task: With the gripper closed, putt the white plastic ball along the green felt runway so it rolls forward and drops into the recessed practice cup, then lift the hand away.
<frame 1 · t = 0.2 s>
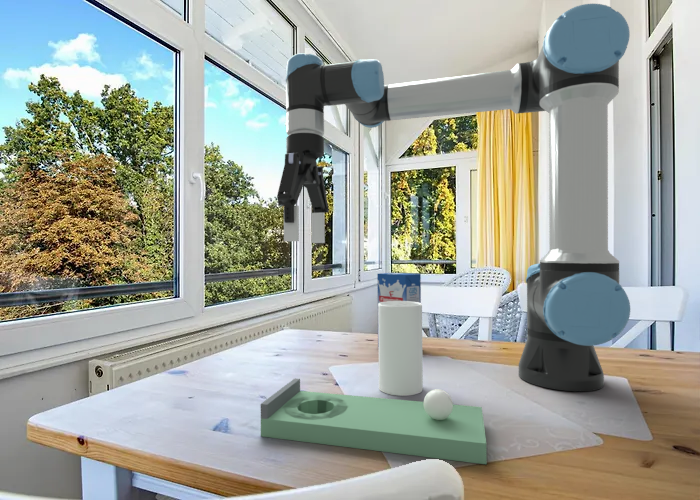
hand: (305, 242, 81), 28 cm above the table, fingers open, 13 cm apart
ball: (438, 404, 56), point 4 cm above the table, touching green
milk carton: (399, 349, 109), on the table
cup: (400, 389, 77), on the table
green: (374, 429, 59), on the table
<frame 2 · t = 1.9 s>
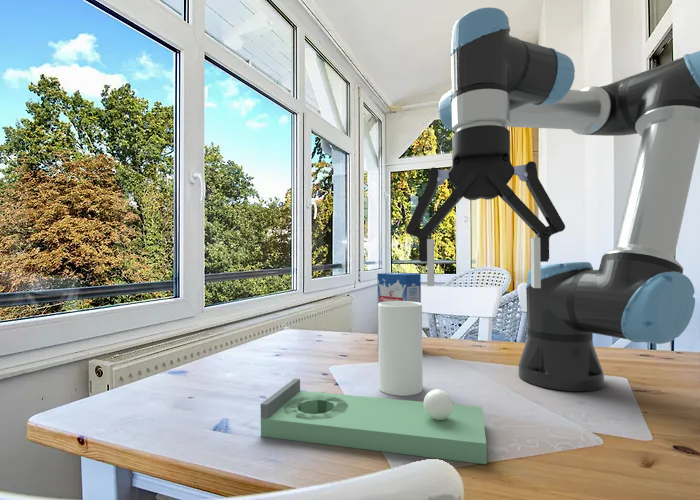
hand: (481, 286, 55), 21 cm above the table, fingers open, 13 cm apart
nothing on the table moved.
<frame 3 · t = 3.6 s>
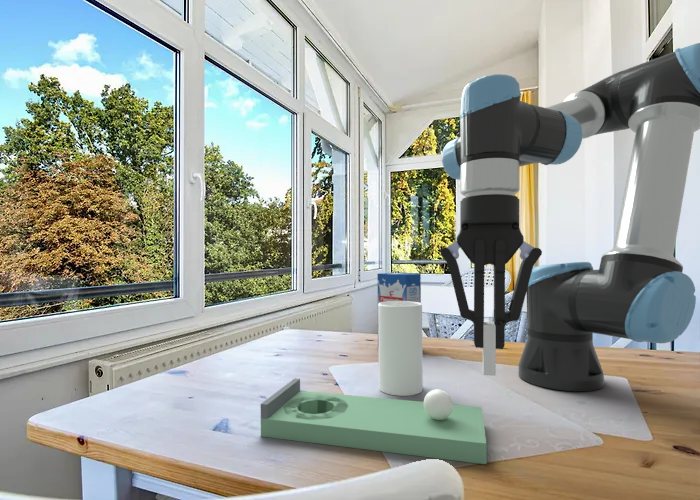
hand: (488, 372, 54), 9 cm above the table, fingers closed
nothing on the table moved.
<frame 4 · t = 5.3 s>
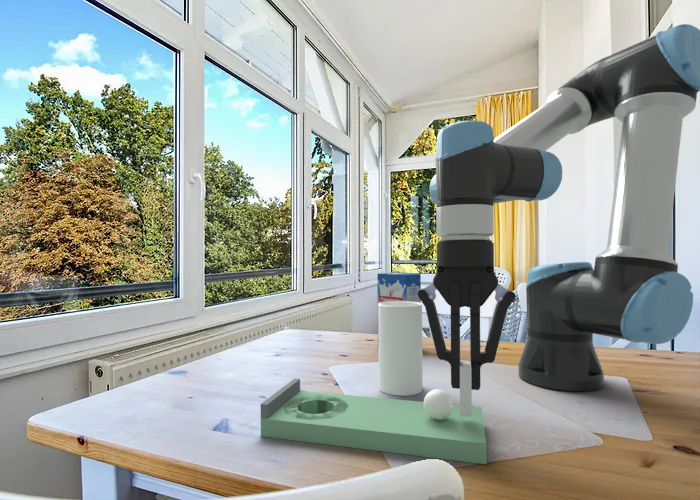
hand: (465, 412, 55), 4 cm above the table, fingers closed
nothing on the table moved.
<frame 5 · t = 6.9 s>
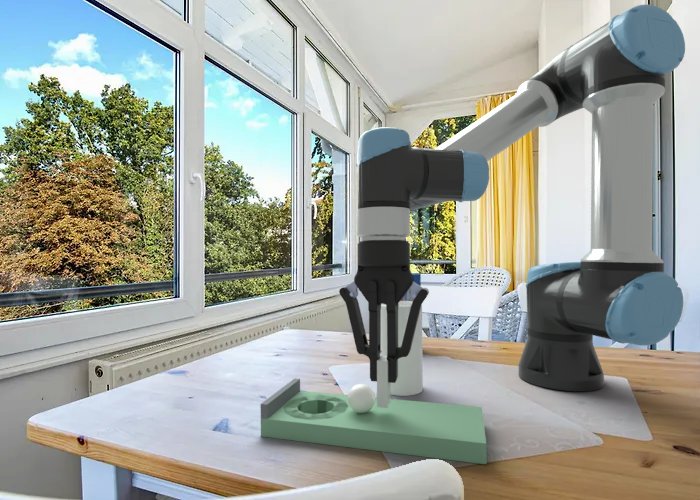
hand: (383, 404, 58), 4 cm above the table, fingers closed
ball: (361, 398, 59), point 4 cm above the table, tilted 51°, touching green
everything else where it was.
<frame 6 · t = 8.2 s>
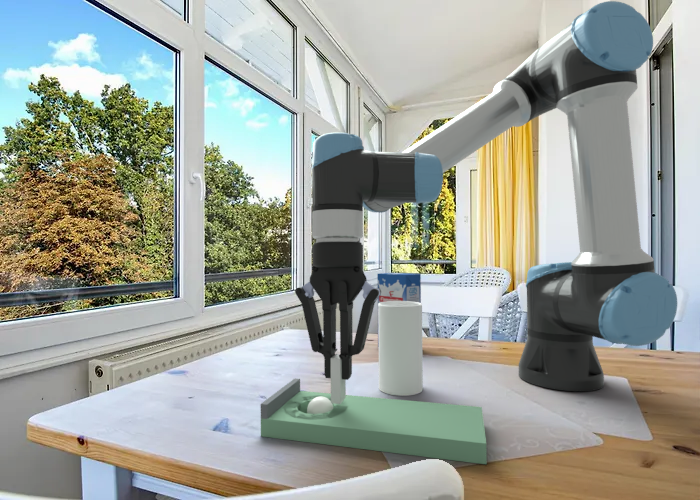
hand: (338, 400, 60), 4 cm above the table, fingers closed
ball: (320, 410, 61), point 2 cm above the table, tilted 138°
everything else where it was.
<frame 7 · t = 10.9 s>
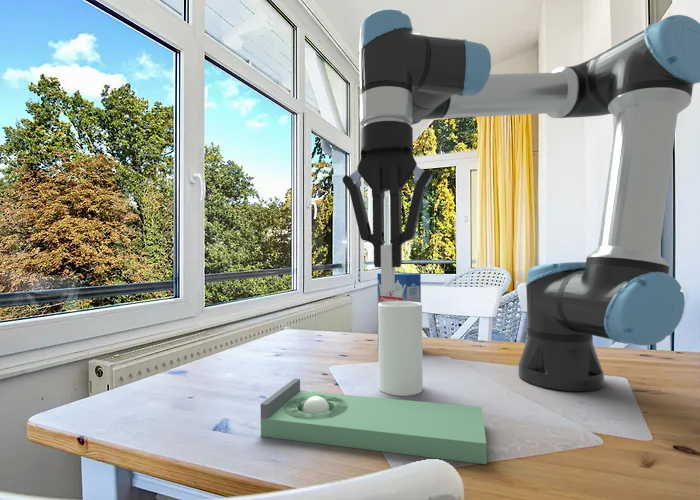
hand: (388, 290, 58), 20 cm above the table, fingers closed
ball: (315, 410, 61), point 2 cm above the table, tilted 145°
everything else where it was.
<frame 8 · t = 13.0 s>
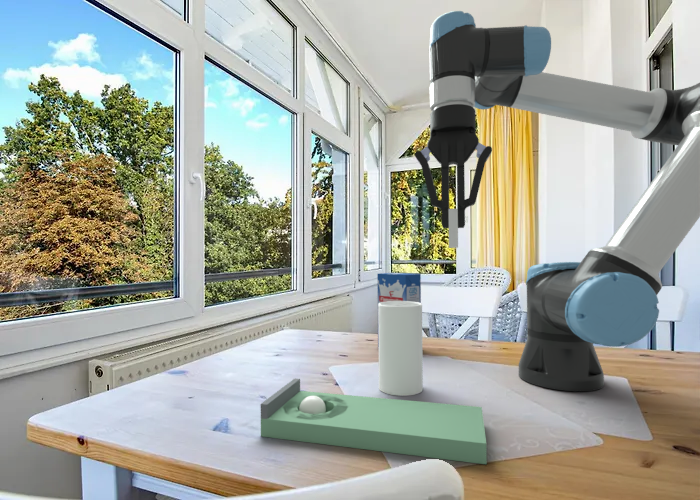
hand: (453, 247, 69), 26 cm above the table, fingers closed
at the end: ball 0.6 cm from the target spot in the green, point 2.0 cm above the green's base; the gripper is holding nothing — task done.
